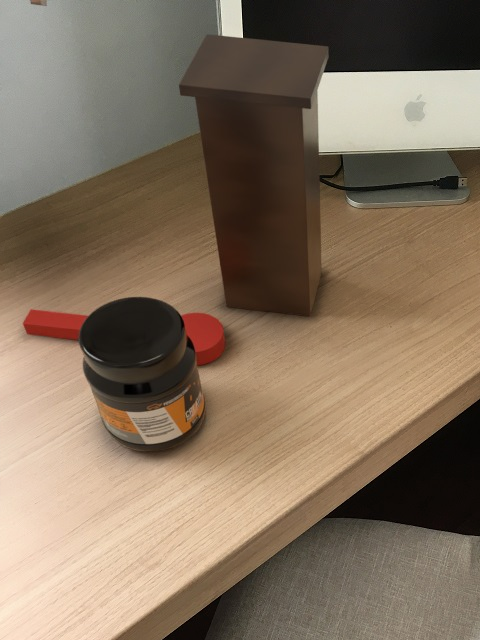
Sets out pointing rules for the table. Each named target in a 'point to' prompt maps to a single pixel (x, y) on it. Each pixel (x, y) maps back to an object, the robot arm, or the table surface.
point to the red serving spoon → (63, 325)
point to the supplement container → (142, 373)
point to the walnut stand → (262, 166)
